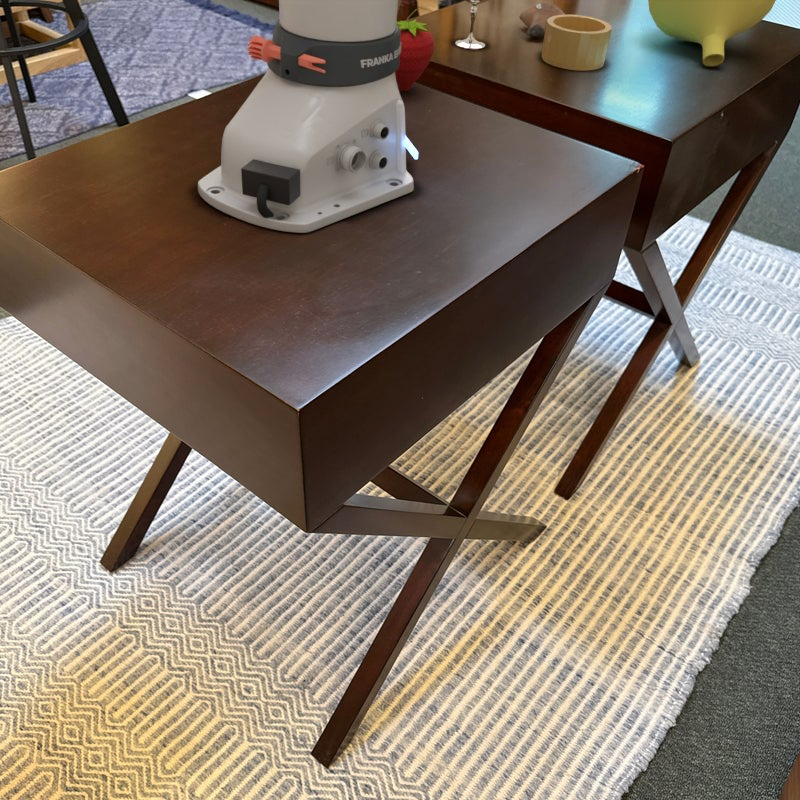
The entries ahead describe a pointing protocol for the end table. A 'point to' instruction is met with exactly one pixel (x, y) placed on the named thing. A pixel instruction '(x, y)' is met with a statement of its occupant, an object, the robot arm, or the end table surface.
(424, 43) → the strawberry
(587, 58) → the tape roll
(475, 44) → the wineglass
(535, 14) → the oil lamp
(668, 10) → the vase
